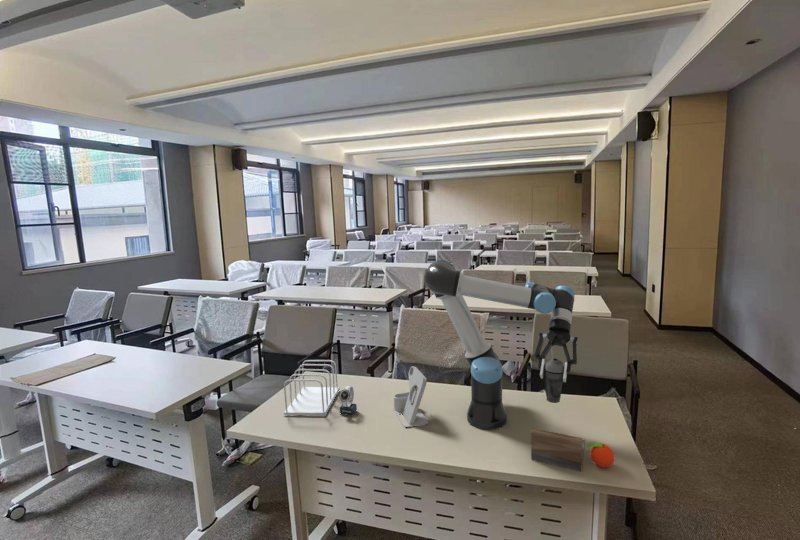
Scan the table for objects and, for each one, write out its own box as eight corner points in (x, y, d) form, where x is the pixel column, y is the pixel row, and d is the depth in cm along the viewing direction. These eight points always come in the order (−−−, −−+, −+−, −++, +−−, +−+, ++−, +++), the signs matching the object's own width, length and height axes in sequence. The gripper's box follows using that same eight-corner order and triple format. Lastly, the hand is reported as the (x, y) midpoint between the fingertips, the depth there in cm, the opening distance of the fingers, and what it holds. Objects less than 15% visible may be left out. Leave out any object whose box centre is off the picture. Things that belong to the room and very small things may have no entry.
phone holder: (392, 408, 179) (391, 367, 176) (415, 405, 181) (414, 364, 179) (404, 428, 162) (403, 383, 160) (429, 424, 165) (428, 379, 162)
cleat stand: (580, 471, 133) (581, 441, 131) (531, 459, 140) (531, 431, 138) (584, 448, 145) (585, 420, 144) (538, 438, 152) (539, 412, 151)
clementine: (589, 471, 133) (590, 449, 132) (584, 458, 140) (584, 437, 139) (617, 472, 132) (618, 451, 131) (610, 460, 138) (611, 439, 137)
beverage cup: (565, 405, 152) (568, 351, 149) (543, 403, 153) (546, 350, 150) (562, 396, 159) (564, 344, 156) (541, 395, 160) (543, 343, 157)
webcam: (338, 416, 173) (336, 390, 172) (346, 407, 181) (345, 382, 179) (350, 418, 171) (349, 392, 170) (358, 409, 179) (357, 384, 177)
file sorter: (303, 390, 200) (301, 358, 197) (339, 391, 198) (338, 358, 196) (283, 416, 175) (281, 380, 173) (325, 417, 173) (323, 380, 171)
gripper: (589, 330, 161) (583, 388, 150) (534, 325, 171) (525, 378, 159) (588, 320, 156) (582, 379, 144) (532, 315, 165) (522, 369, 153)
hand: (552, 378), depth 151 cm, fingers closed on beverage cup, 7 cm apart
